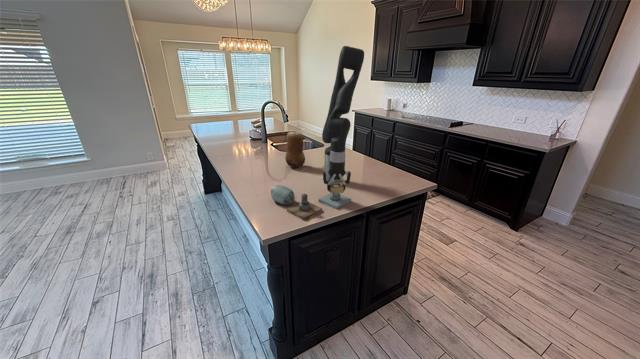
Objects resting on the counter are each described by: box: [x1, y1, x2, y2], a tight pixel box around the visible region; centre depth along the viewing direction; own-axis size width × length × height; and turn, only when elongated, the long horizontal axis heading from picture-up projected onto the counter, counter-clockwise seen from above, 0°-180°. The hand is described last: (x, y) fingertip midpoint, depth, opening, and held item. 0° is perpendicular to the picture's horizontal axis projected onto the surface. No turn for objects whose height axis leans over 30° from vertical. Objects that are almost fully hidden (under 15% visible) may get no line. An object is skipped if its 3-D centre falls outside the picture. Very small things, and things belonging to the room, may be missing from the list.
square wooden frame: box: [329, 181, 344, 194], centre depth 127 cm, size 6×6×3 cm
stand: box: [286, 193, 323, 221], centre depth 119 cm, size 12×12×8 cm
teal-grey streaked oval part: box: [270, 185, 296, 206], centre depth 128 cm, size 14×10×10 cm
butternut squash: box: [284, 131, 306, 169], centre depth 173 cm, size 14×13×25 cm
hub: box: [318, 185, 352, 210], centre depth 129 cm, size 12×12×8 cm
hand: (336, 190), depth 128 cm, fingers closed on square wooden frame, 6 cm apart
